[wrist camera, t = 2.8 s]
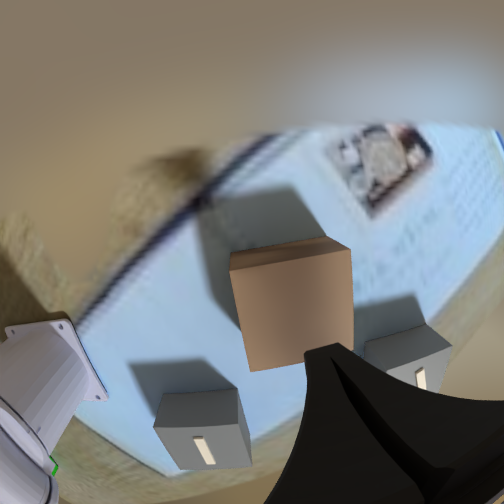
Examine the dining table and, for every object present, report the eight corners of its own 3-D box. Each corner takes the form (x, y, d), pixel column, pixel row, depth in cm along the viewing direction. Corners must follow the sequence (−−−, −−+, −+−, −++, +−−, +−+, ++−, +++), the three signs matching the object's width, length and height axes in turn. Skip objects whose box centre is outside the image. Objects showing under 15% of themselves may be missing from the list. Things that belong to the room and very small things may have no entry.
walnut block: (247, 336, 18) (250, 372, 14) (230, 252, 17) (229, 271, 13) (332, 319, 18) (353, 349, 14) (325, 235, 17) (350, 249, 13)
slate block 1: (185, 436, 20) (179, 471, 16) (163, 392, 19) (152, 429, 15) (249, 432, 21) (252, 468, 17) (237, 386, 19) (238, 425, 15)
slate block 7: (357, 395, 20) (375, 428, 16) (364, 340, 19) (388, 372, 15) (414, 377, 20) (435, 403, 16) (425, 323, 19) (454, 346, 15)
